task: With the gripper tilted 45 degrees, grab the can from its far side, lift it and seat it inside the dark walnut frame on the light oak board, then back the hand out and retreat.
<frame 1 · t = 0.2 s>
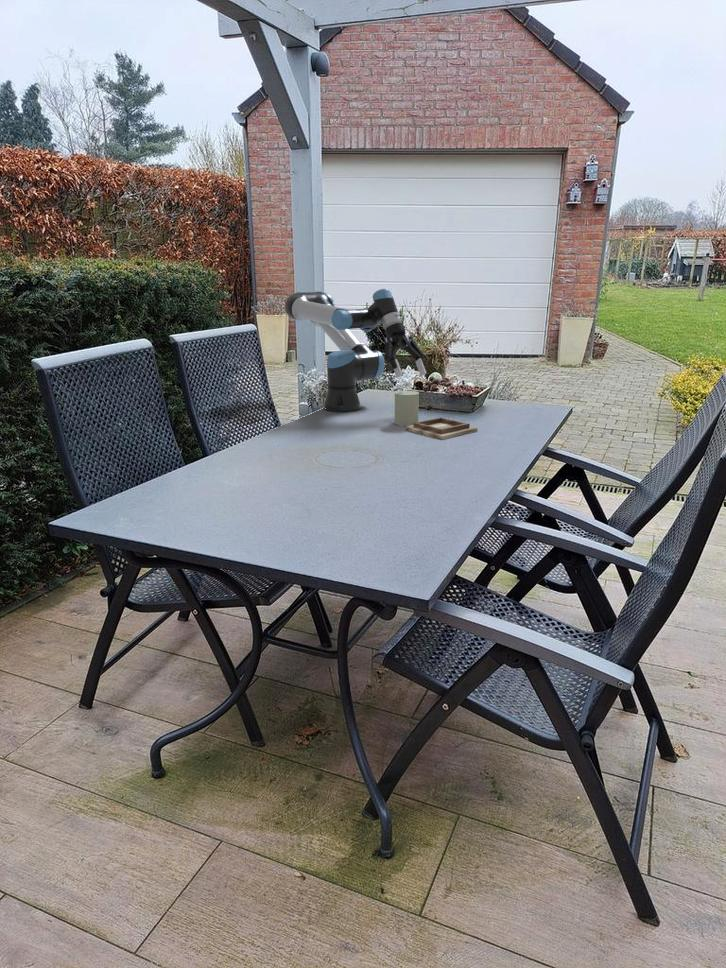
hand: (411, 375, 249), 16 cm above the table, tool tilted 35°, fingers open, 13 cm apart
can: (406, 423, 240), on the table
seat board: (441, 430, 228), on the table
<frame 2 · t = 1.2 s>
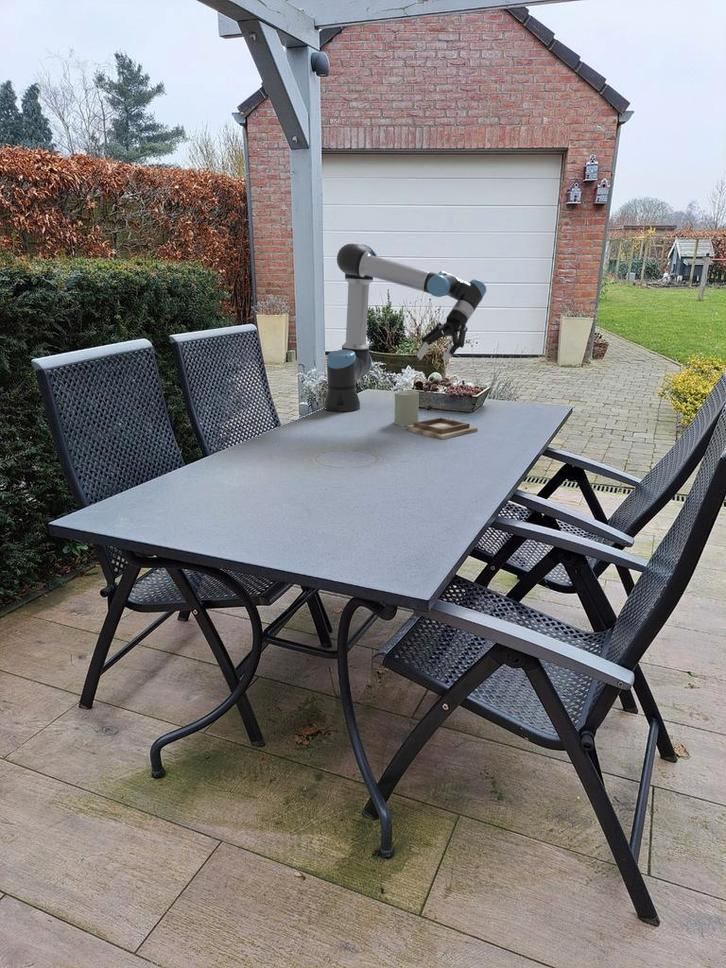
hand: (431, 358, 240), 23 cm above the table, tool tilted 45°, fingers open, 13 cm apart
nothing on the table moved.
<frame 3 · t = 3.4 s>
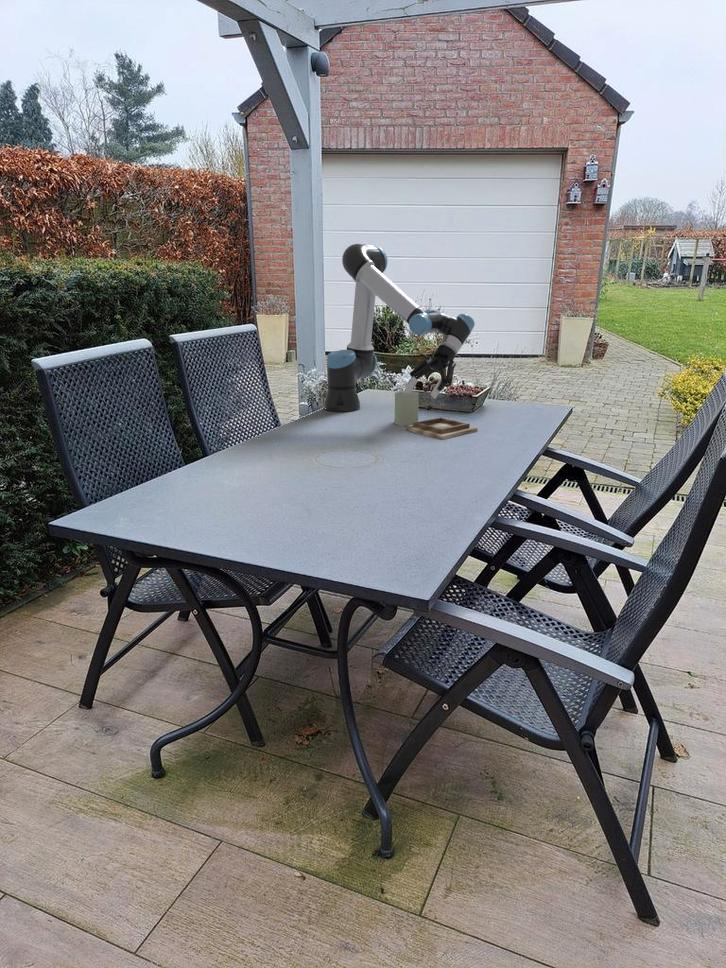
hand: (419, 394, 239), 10 cm above the table, tool tilted 45°, fingers open, 13 cm apart
nothing on the table moved.
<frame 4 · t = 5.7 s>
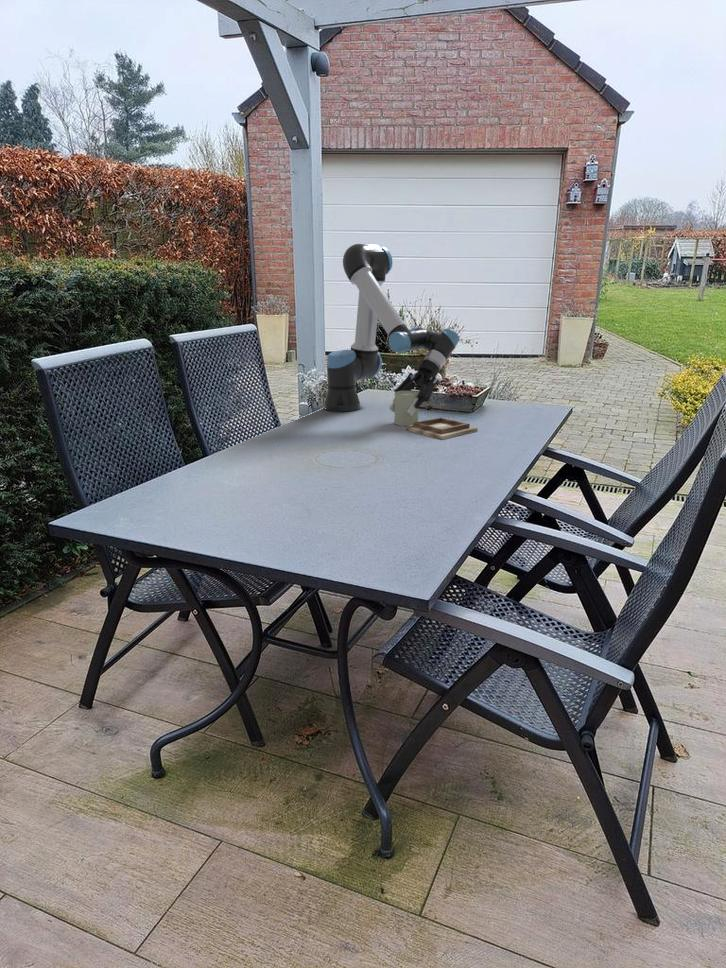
hand: (400, 412, 236), 5 cm above the table, tool tilted 45°, fingers closed on can, 9 cm apart
can: (406, 423, 240), on the table, touching gripper
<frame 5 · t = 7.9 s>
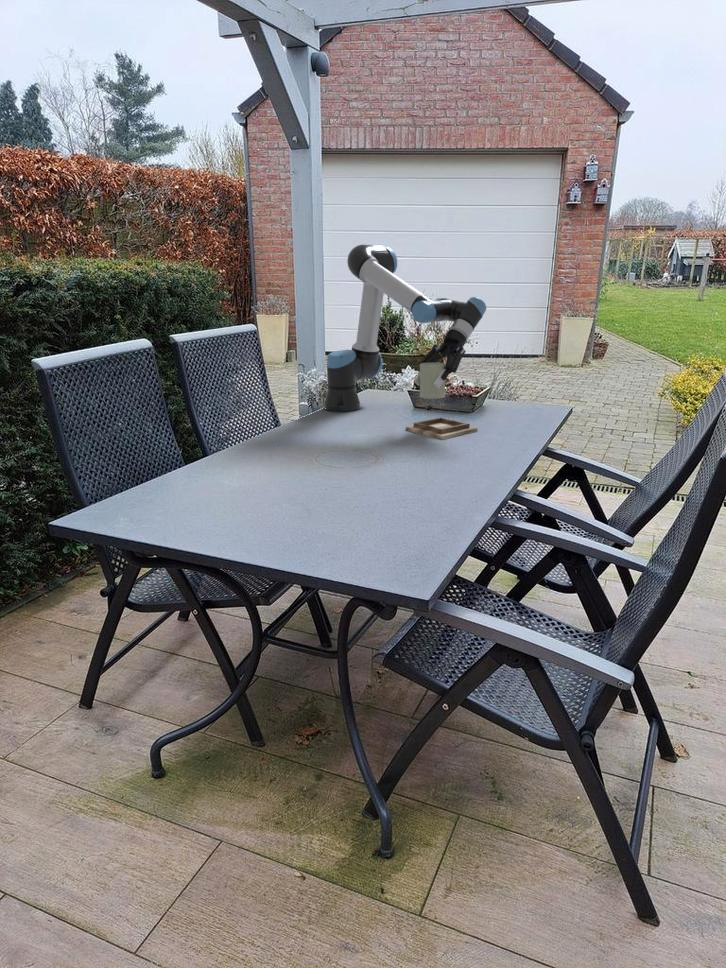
hand: (426, 384, 224), 16 cm above the table, tool tilted 45°, fingers closed on can, 9 cm apart
can: (432, 397, 228), point 11 cm above the table, touching gripper
when the fingers open (7 cm above the table, at t = 10.2 s): can drops 1 cm, resting on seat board.
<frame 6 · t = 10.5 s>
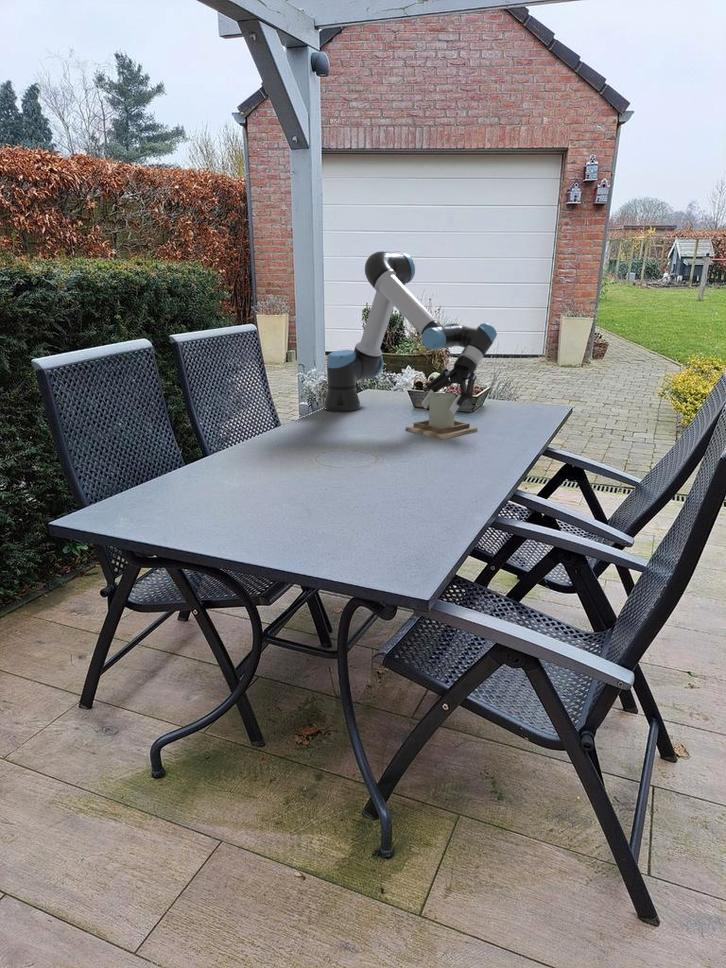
hand: (437, 409, 224), 8 cm above the table, tool tilted 45°, fingers open, 13 cm apart
can: (441, 427, 228), point 1 cm above the table, touching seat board
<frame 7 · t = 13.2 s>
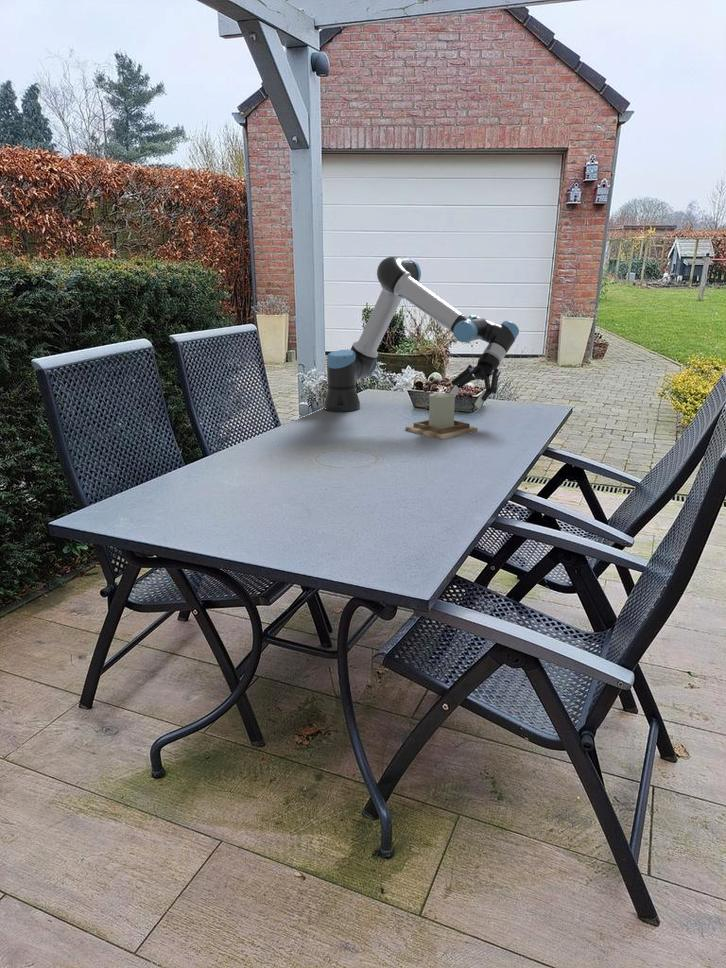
hand: (462, 404, 232), 8 cm above the table, tool tilted 45°, fingers open, 13 cm apart
nothing on the table moved.
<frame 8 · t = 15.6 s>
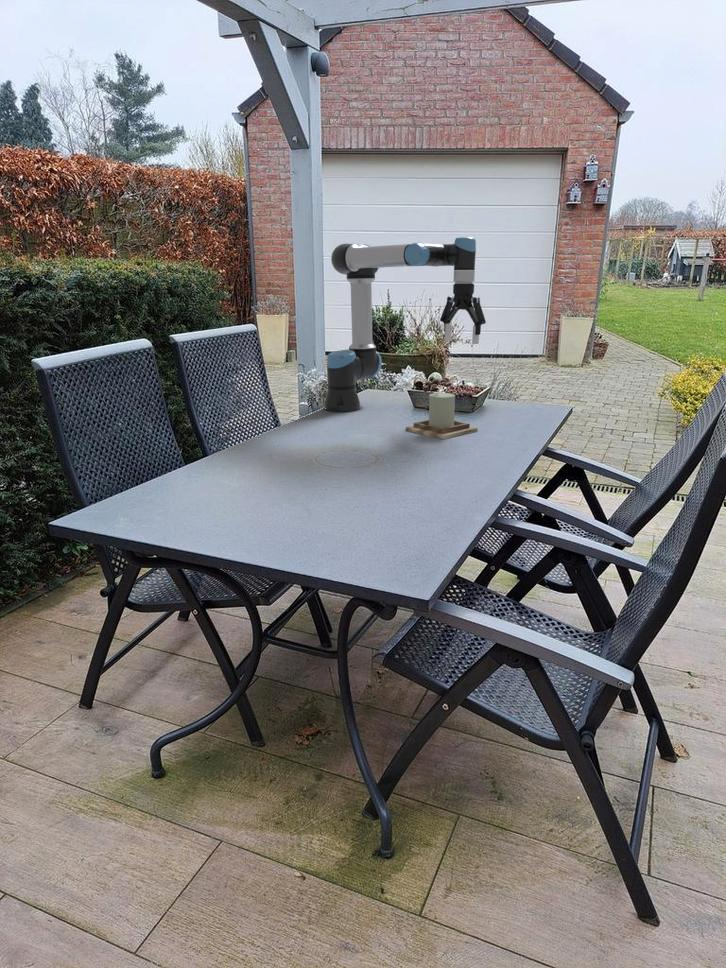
hand: (461, 342, 238), 29 cm above the table, tool pointing down, fingers open, 13 cm apart
nothing on the table moved.
at the end: can 0.1 cm off-centre on the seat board, point 1.0 cm above the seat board's base; can tilted 0°; the gripper is holding nothing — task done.
